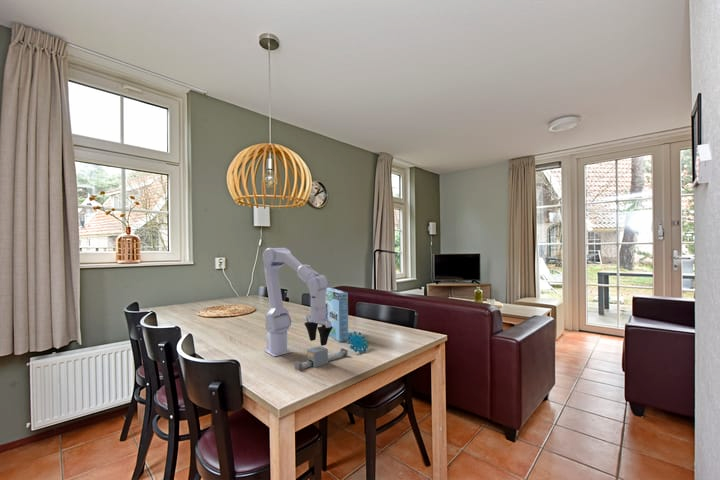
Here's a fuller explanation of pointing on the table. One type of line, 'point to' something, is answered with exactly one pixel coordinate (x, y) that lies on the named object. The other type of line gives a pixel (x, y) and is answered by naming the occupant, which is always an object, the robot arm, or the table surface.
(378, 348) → the table surface
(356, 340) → the gear
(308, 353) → the block
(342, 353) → the rail
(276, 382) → the table surface
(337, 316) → the gum box
